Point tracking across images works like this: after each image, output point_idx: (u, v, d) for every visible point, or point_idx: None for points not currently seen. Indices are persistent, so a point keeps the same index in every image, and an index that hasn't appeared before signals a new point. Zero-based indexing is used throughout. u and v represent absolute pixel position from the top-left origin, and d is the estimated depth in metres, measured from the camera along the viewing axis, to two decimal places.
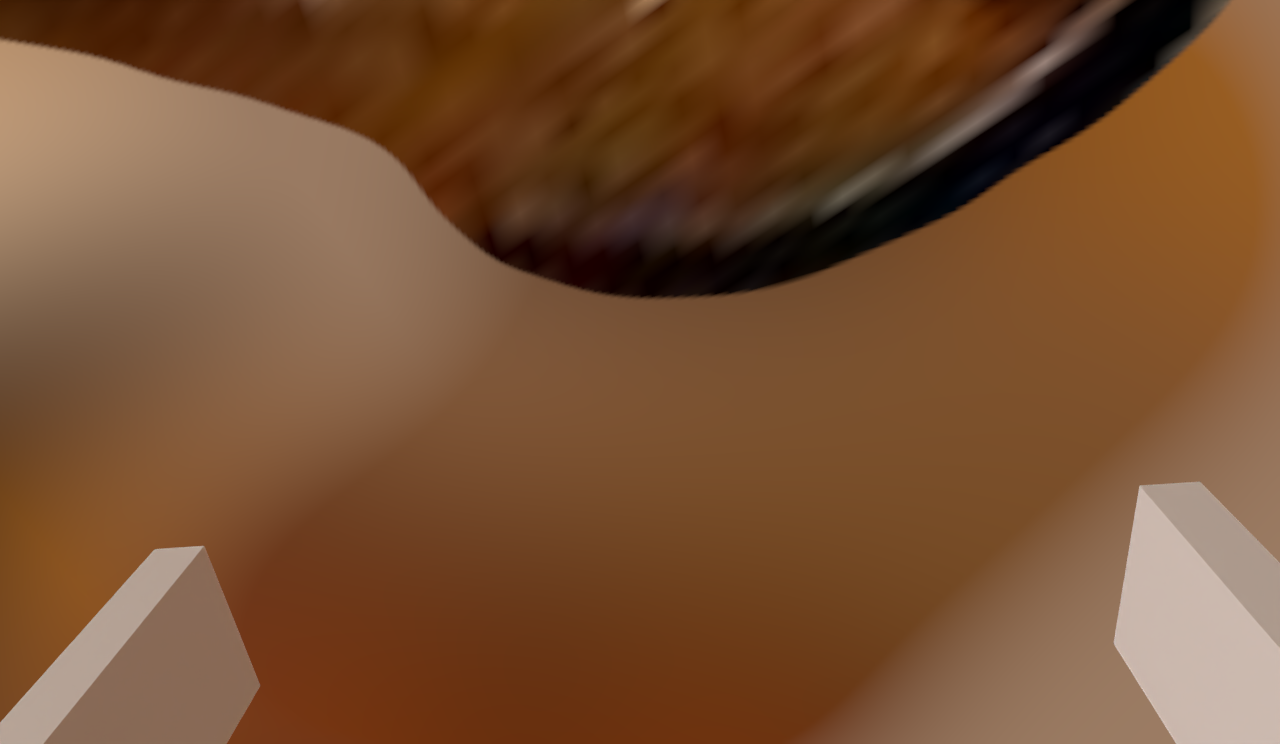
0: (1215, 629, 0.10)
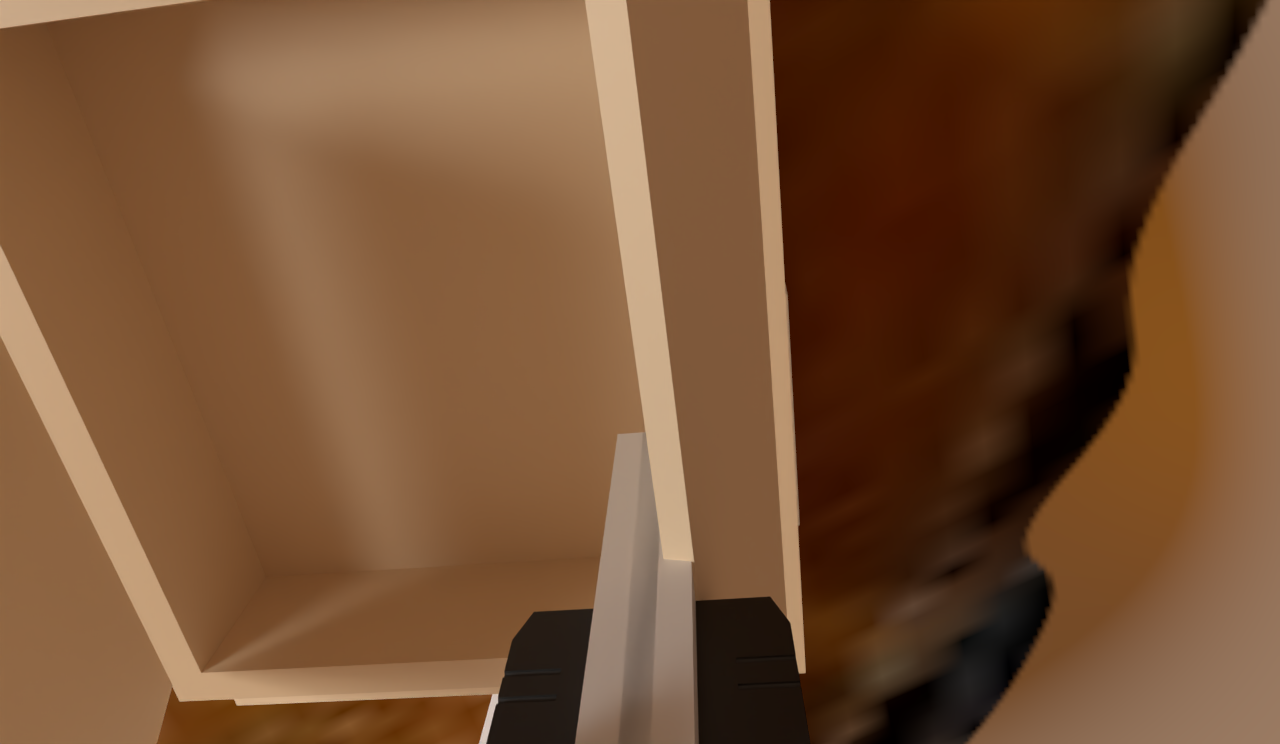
0: None
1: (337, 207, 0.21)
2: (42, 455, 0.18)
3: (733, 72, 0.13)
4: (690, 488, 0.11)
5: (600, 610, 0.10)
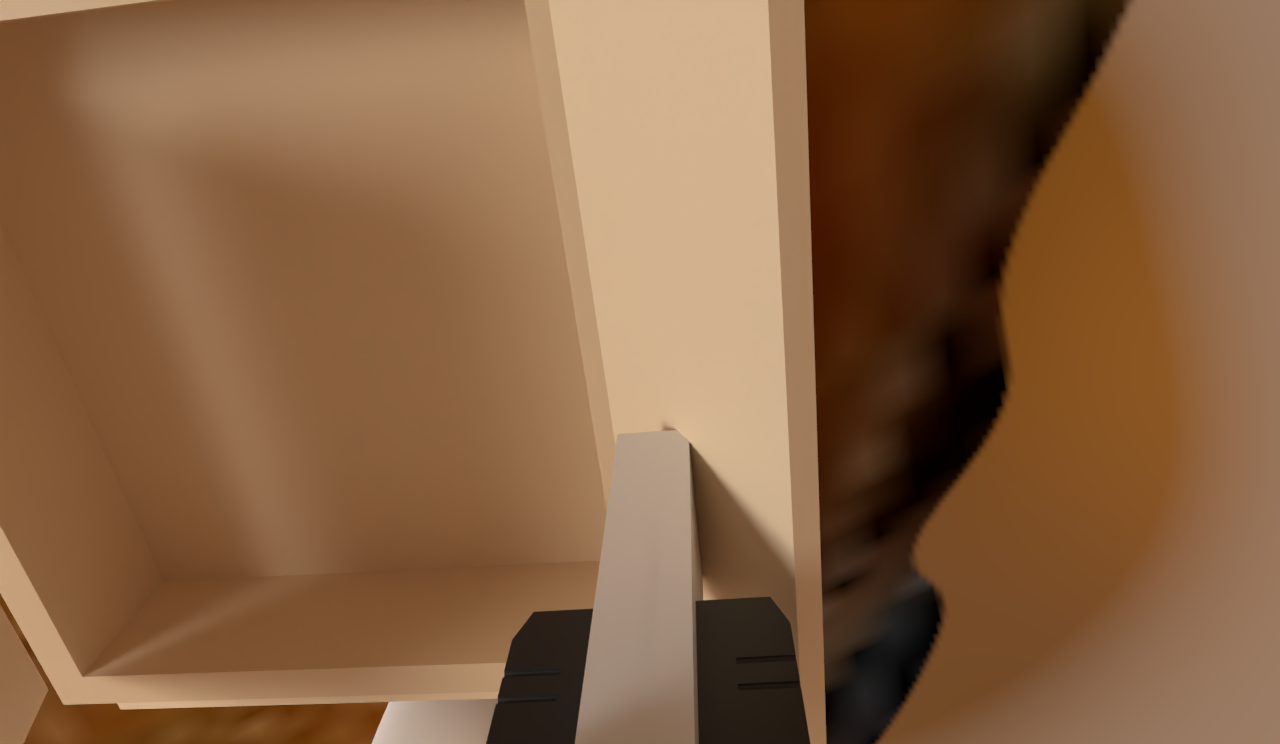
0: None
1: (210, 218, 0.21)
2: None
3: None
4: None
5: (600, 610, 0.10)
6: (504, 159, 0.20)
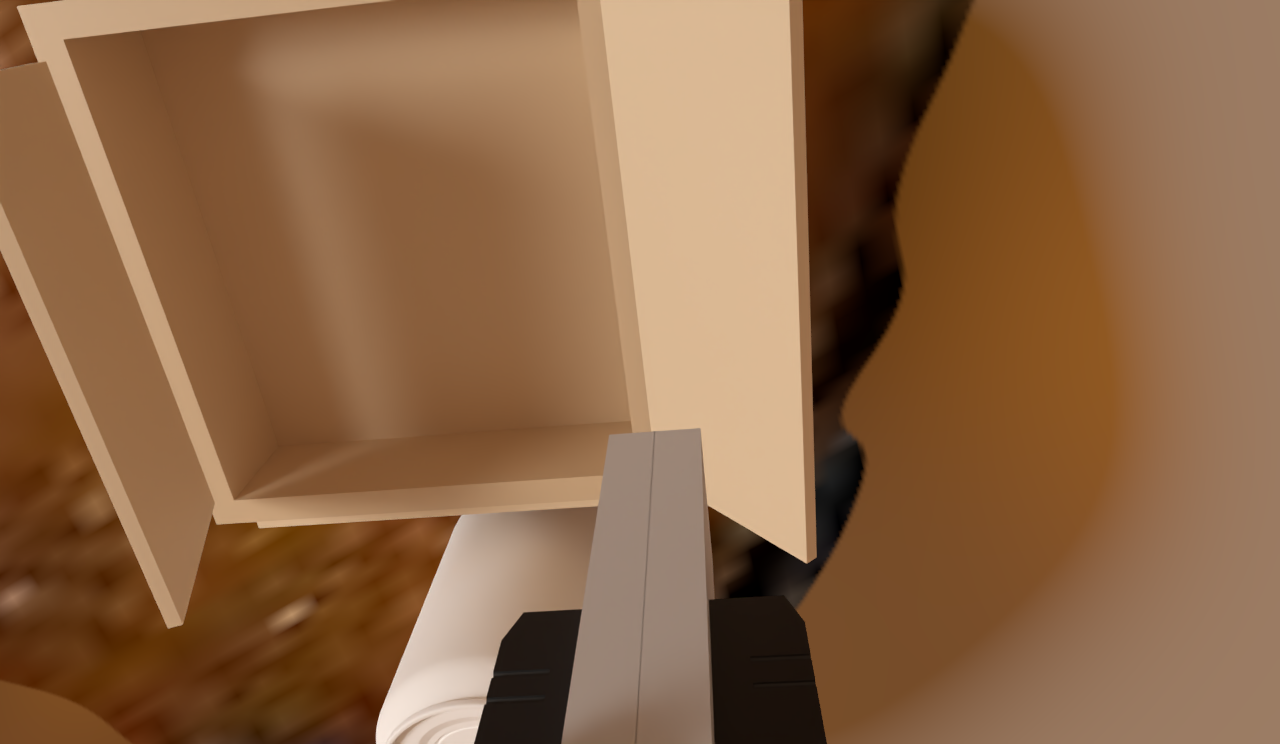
0: None
1: (339, 160, 0.30)
2: (137, 319, 0.27)
3: None
4: None
5: (588, 610, 0.10)
6: (550, 118, 0.29)
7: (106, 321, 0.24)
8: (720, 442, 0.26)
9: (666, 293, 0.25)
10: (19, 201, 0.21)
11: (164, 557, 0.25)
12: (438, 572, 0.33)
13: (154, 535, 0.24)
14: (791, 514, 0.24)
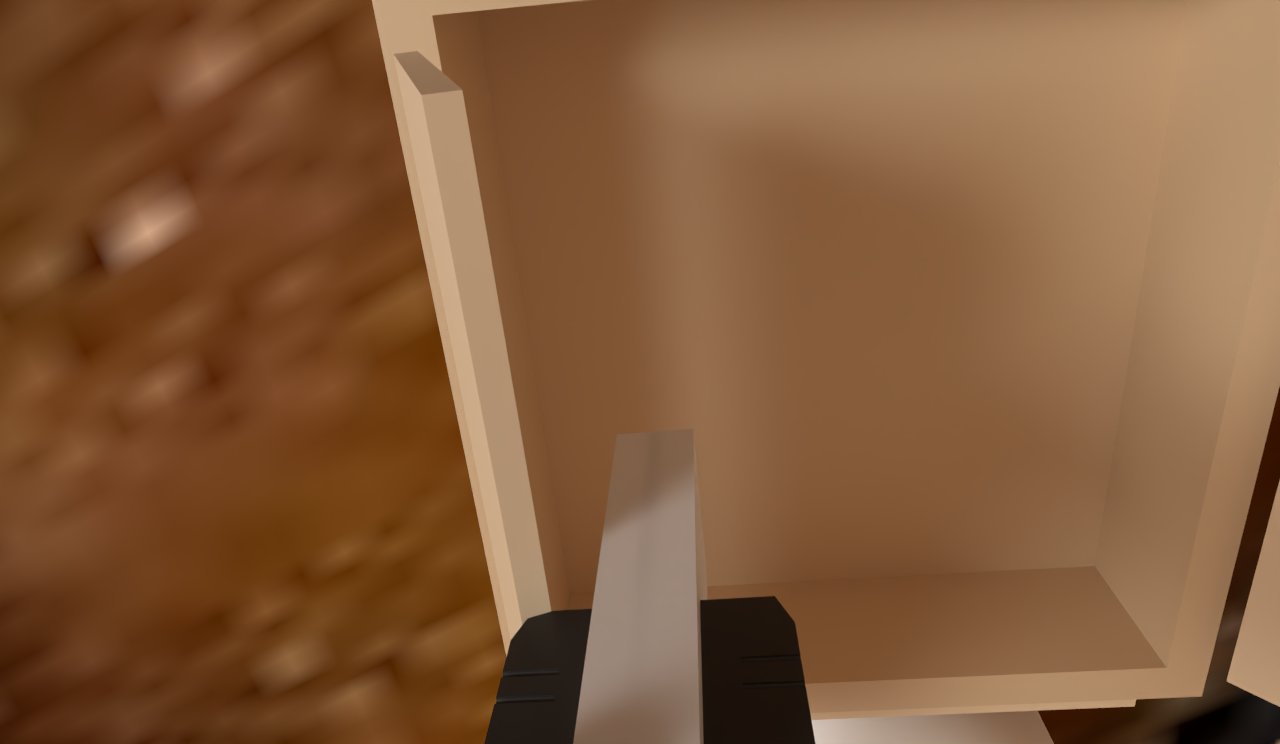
0: None
1: (744, 207, 0.20)
2: None
3: None
4: None
5: (599, 610, 0.10)
6: (1079, 150, 0.20)
7: None
8: None
9: None
10: None
11: None
12: None
13: None
14: None
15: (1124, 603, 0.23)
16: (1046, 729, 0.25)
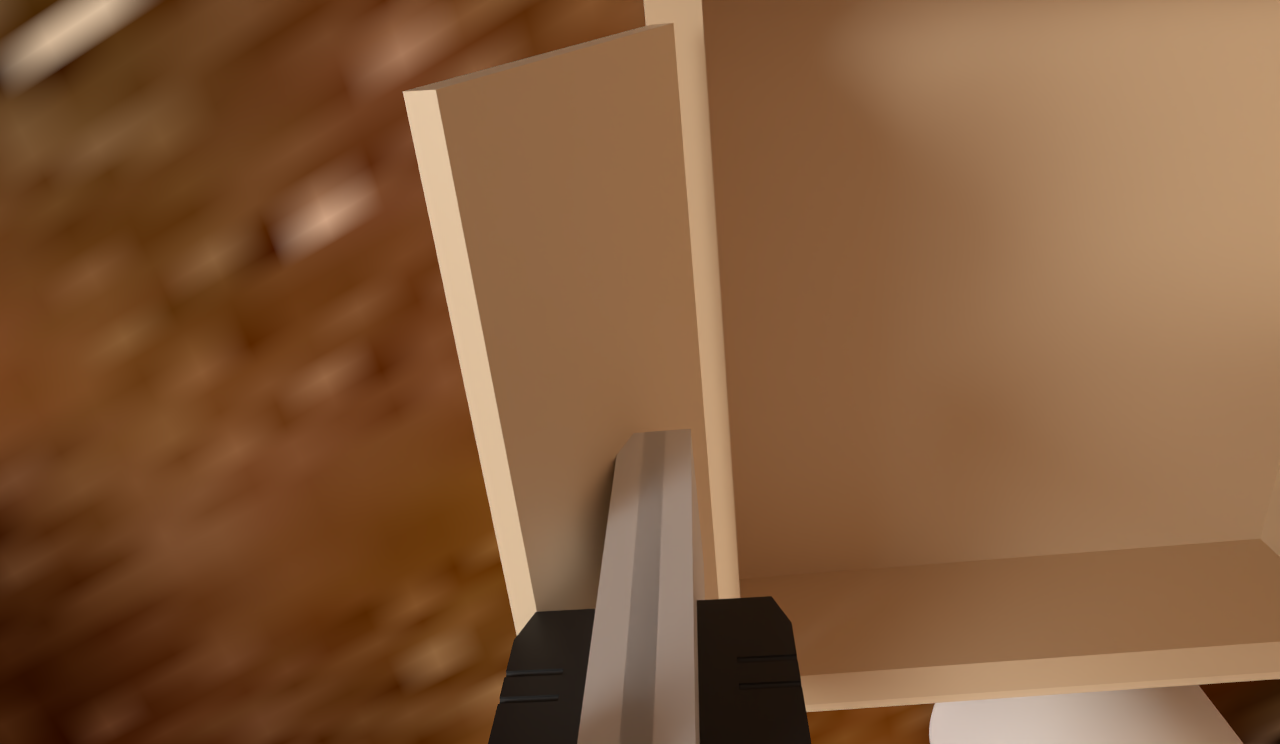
0: None
1: (942, 182, 0.20)
2: (694, 446, 0.17)
3: None
4: None
5: (602, 610, 0.10)
6: None
7: None
8: None
9: None
10: (530, 313, 0.11)
11: None
12: None
13: None
14: None
15: None
16: None
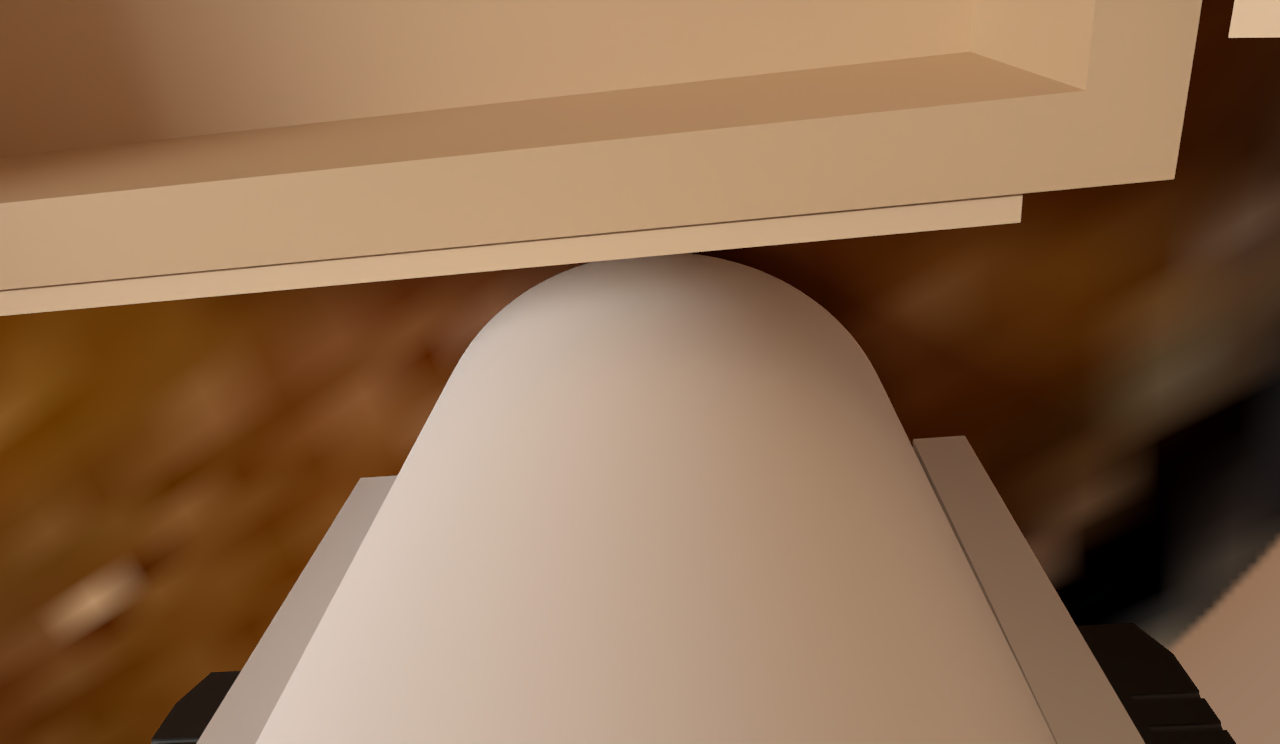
0: None
1: None
2: None
3: None
4: None
5: (243, 677, 0.10)
6: None
7: None
8: None
9: None
10: None
11: None
12: (399, 472, 0.11)
13: None
14: None
15: (1013, 52, 0.11)
16: (886, 396, 0.13)
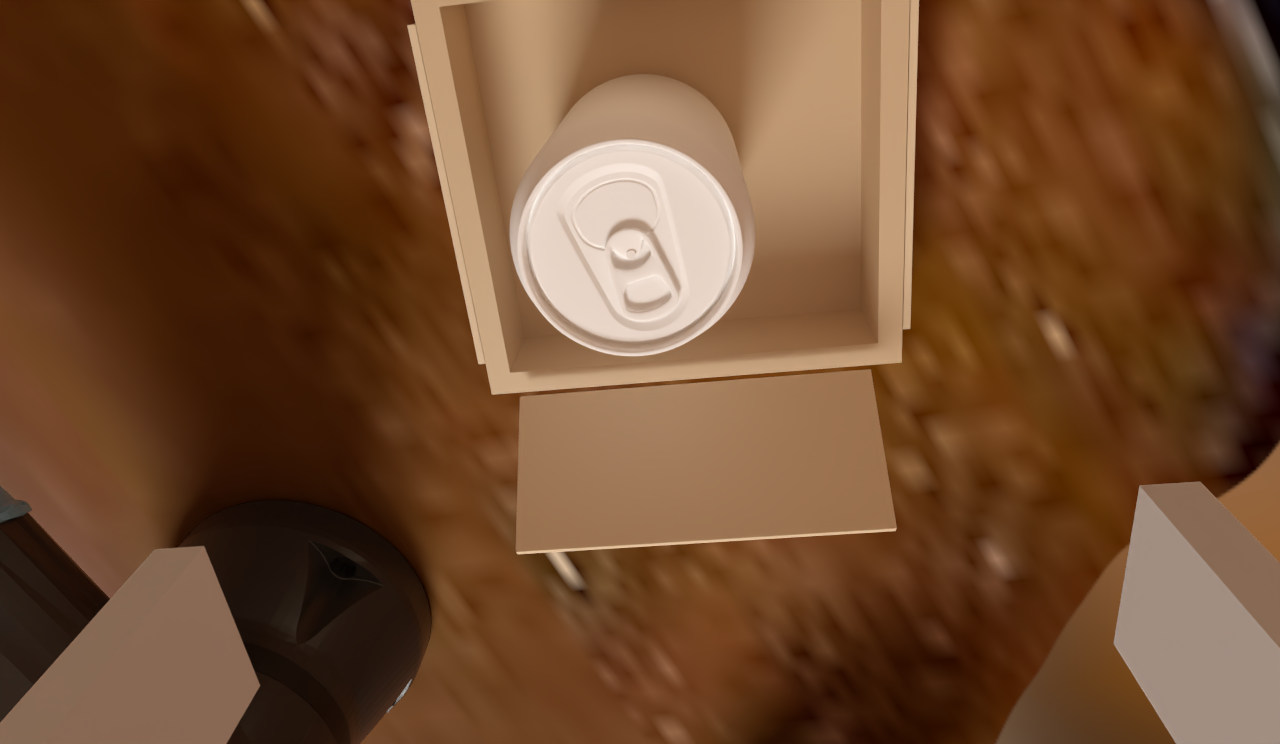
0: (1215, 629, 0.10)
1: None
2: (697, 397, 0.37)
3: None
4: None
5: None
6: (571, 38, 0.36)
7: (679, 457, 0.35)
8: None
9: None
10: (584, 522, 0.35)
11: (843, 515, 0.34)
12: None
13: (824, 515, 0.34)
14: None
15: None
16: (722, 120, 0.35)
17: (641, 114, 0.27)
